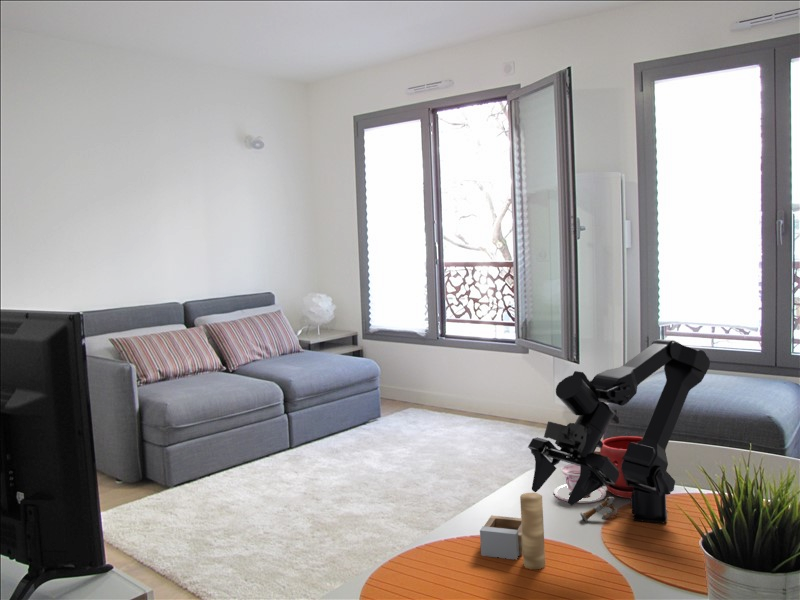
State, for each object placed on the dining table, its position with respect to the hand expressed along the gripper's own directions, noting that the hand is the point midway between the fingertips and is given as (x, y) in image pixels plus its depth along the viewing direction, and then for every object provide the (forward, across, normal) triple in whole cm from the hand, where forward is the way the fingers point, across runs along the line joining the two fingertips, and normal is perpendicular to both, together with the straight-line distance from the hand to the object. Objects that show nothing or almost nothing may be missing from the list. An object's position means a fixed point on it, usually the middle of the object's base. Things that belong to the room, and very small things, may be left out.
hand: (550, 497), depth 129 cm
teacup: (-12, -19, +28) cm, 36 cm away
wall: (+13, -7, +3) cm, 15 cm away
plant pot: (-18, -12, +35) cm, 41 cm away
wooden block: (-18, -23, +35) cm, 45 cm away
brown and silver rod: (-6, -7, +23) cm, 24 cm away
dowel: (+12, 0, +5) cm, 13 cm away
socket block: (+10, -10, +6) cm, 15 cm away
